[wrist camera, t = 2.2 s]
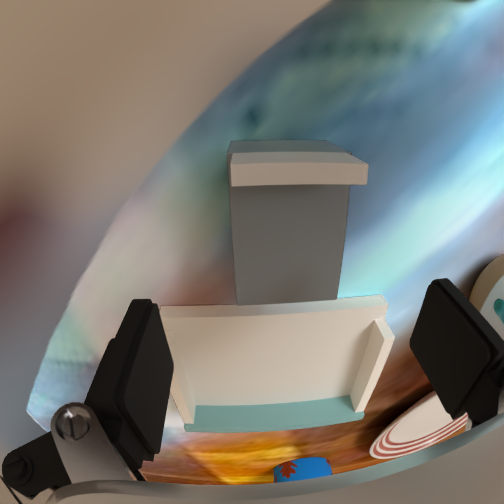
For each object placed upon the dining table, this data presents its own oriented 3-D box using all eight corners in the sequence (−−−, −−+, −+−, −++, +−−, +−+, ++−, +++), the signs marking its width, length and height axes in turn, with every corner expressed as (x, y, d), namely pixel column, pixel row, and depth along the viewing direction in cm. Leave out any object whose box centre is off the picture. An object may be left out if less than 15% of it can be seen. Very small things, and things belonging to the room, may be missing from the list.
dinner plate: (506, 378, 37) (512, 389, 34) (401, 452, 46) (405, 464, 43) (488, 324, 28) (500, 340, 25) (333, 434, 37) (337, 452, 34)
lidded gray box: (232, 137, 18) (223, 164, 10) (317, 136, 18) (374, 164, 10) (238, 249, 22) (236, 338, 14) (313, 246, 22) (349, 329, 14)
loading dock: (161, 306, 24) (149, 343, 20) (382, 294, 24) (402, 328, 20) (189, 398, 30) (185, 431, 26) (352, 388, 31) (362, 419, 27)
